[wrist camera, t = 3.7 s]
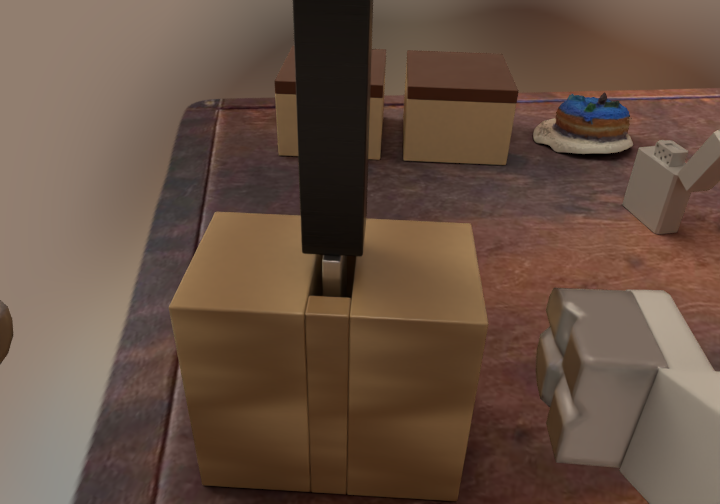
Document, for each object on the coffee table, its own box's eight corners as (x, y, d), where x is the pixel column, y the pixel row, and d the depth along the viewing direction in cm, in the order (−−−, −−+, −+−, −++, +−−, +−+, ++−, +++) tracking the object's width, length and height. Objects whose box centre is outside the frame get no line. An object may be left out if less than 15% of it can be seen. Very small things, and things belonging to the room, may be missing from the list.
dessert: (643, 125, 54) (646, 81, 49) (622, 190, 53) (623, 151, 48) (551, 112, 58) (545, 70, 53) (528, 173, 56) (519, 135, 51)
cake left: (278, 155, 50) (274, 80, 46) (294, 112, 57) (292, 45, 54) (380, 160, 49) (383, 85, 46) (383, 116, 57) (386, 49, 54)
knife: (308, 460, 26) (288, -46, 15) (316, 405, 28) (304, -64, 18) (356, 463, 26) (371, -44, 15) (360, 407, 28) (375, -62, 18)
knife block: (201, 486, 25) (167, 307, 20) (235, 376, 30) (215, 210, 25) (457, 502, 24) (488, 324, 19) (448, 388, 29) (471, 222, 24)
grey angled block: (620, 203, 44) (652, 93, 40) (642, 201, 45) (676, 91, 40) (684, 260, 39) (730, 138, 34) (709, 257, 39) (758, 136, 35)
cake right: (403, 161, 49) (408, 86, 46) (403, 117, 57) (407, 50, 54) (506, 165, 49) (518, 90, 46) (492, 121, 57) (502, 53, 53)
